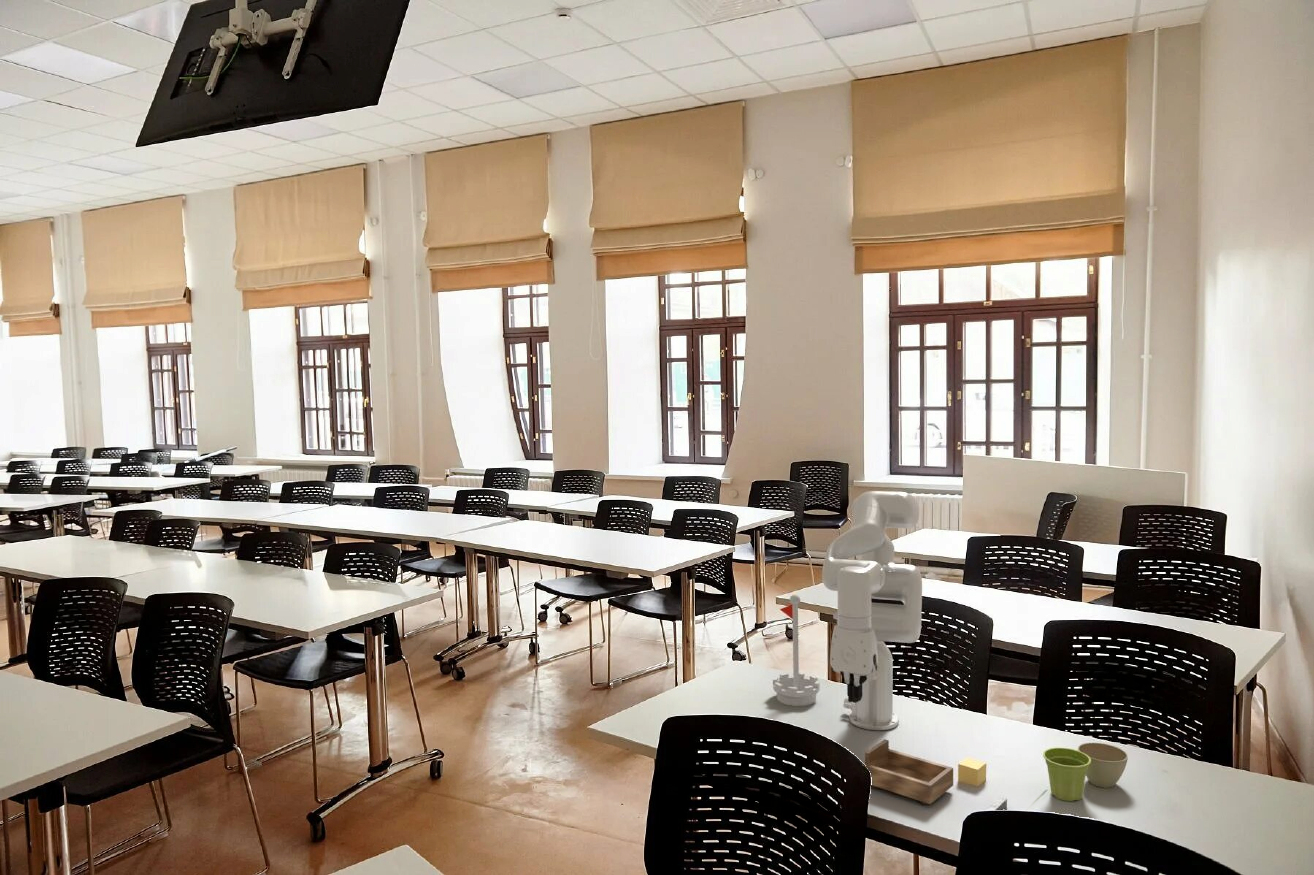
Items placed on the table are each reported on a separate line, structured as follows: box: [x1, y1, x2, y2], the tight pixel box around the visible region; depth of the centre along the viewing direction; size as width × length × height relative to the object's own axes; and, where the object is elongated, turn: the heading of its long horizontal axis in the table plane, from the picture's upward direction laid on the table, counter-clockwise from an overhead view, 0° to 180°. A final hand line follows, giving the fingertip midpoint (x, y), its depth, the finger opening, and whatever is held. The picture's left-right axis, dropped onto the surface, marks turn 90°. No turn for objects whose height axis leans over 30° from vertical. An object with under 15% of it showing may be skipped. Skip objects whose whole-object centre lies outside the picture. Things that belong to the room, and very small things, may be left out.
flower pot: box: [1077, 742, 1129, 789], centre depth 203 cm, size 10×10×7 cm
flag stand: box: [772, 593, 821, 707], centre depth 257 cm, size 13×13×30 cm
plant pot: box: [1042, 747, 1091, 802], centre depth 198 cm, size 9×9×9 cm
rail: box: [987, 797, 1008, 810], centre depth 197 cm, size 28×11×2 cm, turn 47°
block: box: [957, 756, 987, 788], centre depth 205 cm, size 4×4×4 cm
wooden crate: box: [863, 739, 954, 806], centre depth 201 cm, size 16×11×8 cm
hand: (854, 700), depth 208 cm, fingers closed
